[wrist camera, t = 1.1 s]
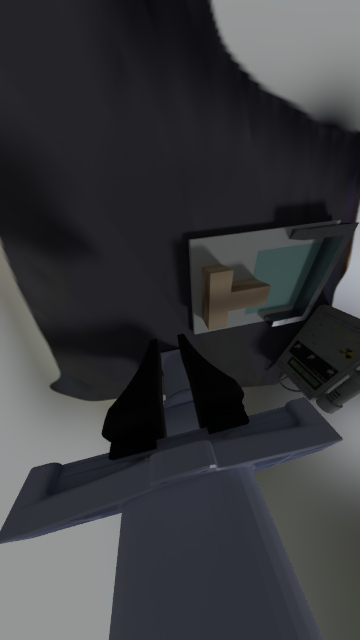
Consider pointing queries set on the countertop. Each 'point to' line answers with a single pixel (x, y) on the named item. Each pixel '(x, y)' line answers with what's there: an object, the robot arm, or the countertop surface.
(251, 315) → the mat
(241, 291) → the t block
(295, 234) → the bracket
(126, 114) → the countertop surface
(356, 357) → the geiger counter
